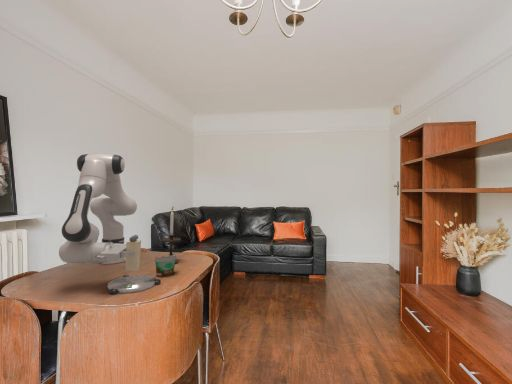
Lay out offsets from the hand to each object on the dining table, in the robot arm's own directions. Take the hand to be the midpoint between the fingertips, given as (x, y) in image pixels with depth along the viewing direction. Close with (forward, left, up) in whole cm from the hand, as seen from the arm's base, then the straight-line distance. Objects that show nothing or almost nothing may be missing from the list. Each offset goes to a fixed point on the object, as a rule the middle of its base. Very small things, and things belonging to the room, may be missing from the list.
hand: (135, 251), depth 118 cm
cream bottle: (0, -1, -8) cm, 8 cm away
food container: (-13, +13, -15) cm, 24 cm away
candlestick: (-38, +12, -15) cm, 43 cm away
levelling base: (0, 0, -15) cm, 15 cm away
